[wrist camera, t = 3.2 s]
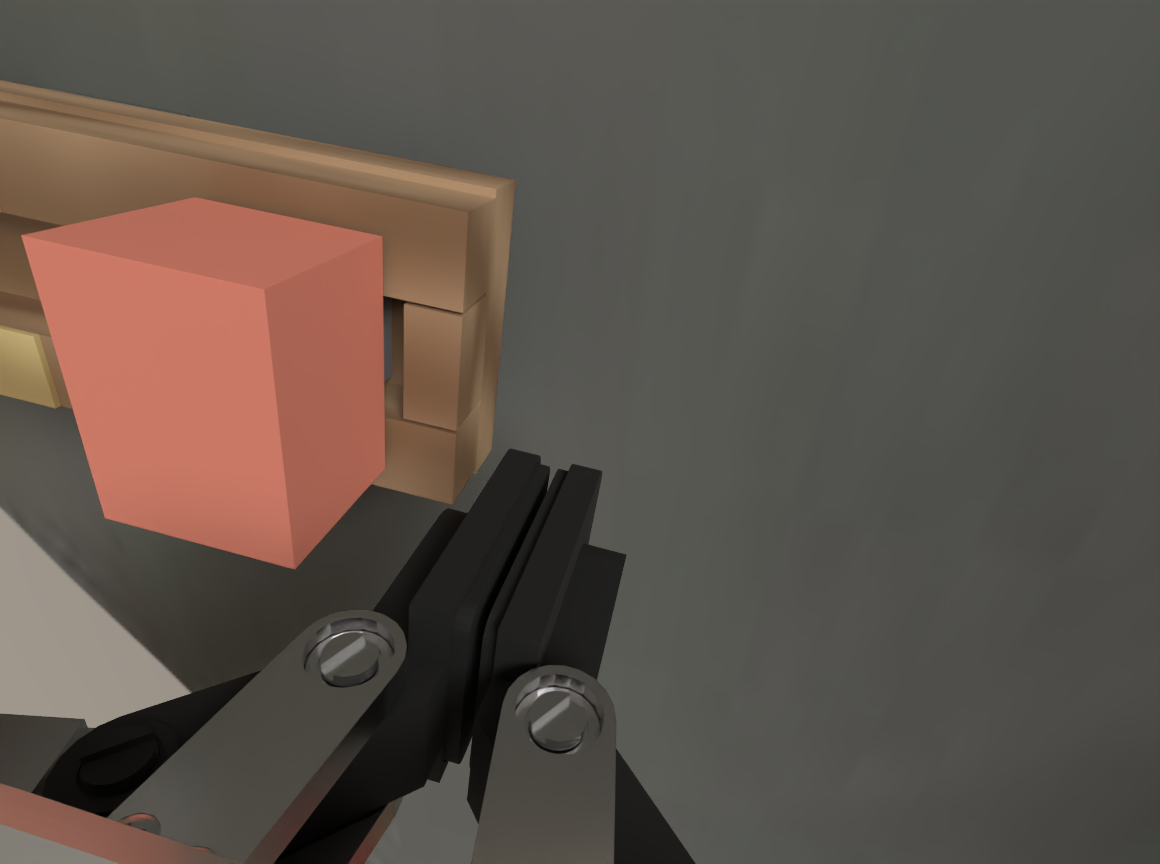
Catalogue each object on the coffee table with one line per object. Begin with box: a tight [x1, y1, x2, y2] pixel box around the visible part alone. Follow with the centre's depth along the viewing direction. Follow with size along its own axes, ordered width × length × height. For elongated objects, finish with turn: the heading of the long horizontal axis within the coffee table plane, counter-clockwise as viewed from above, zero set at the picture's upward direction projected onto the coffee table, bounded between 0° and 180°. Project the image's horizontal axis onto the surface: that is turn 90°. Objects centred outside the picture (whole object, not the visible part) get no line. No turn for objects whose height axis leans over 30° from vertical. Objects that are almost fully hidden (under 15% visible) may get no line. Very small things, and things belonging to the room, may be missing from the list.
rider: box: [21, 197, 392, 569], centre depth 14 cm, size 6×4×6 cm
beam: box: [0, 80, 516, 504], centre depth 19 cm, size 8×28×6 cm, turn 81°
